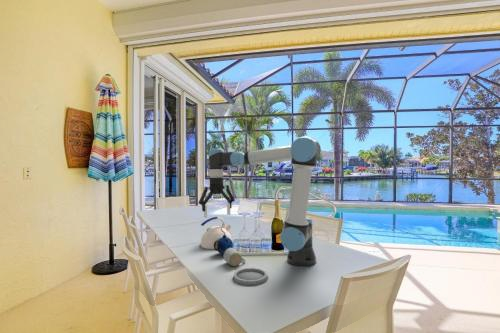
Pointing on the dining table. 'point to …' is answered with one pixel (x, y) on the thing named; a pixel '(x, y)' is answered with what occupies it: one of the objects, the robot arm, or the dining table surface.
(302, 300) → the dining table surface
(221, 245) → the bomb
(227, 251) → the ceramic mug
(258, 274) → the ring coaster
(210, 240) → the kettle
